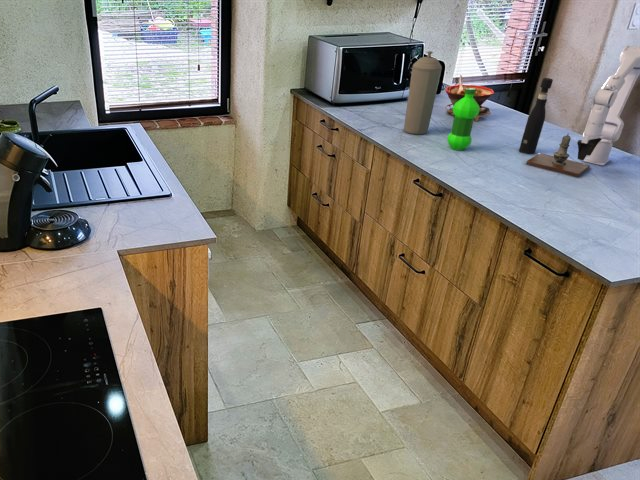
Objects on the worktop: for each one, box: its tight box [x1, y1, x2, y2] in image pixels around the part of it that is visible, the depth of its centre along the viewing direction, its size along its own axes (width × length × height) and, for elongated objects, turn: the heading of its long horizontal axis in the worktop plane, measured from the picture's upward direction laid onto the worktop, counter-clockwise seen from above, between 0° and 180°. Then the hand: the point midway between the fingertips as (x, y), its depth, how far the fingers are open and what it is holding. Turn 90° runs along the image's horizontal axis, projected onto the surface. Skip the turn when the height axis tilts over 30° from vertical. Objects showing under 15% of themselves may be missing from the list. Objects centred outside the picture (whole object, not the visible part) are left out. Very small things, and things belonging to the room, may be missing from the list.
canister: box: [403, 50, 443, 135], centre depth 266 cm, size 13×13×35 cm
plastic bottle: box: [447, 88, 480, 151], centre depth 249 cm, size 10×10×25 cm
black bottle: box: [518, 77, 554, 155], centre depth 246 cm, size 6×6×30 cm
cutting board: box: [526, 152, 591, 178], centre depth 239 cm, size 14×20×2 cm
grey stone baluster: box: [552, 133, 572, 165], centre depth 235 cm, size 6×6×12 cm
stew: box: [444, 74, 495, 122], centre depth 298 cm, size 28×24×16 cm
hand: (584, 157), depth 231 cm, fingers open, 7 cm apart
